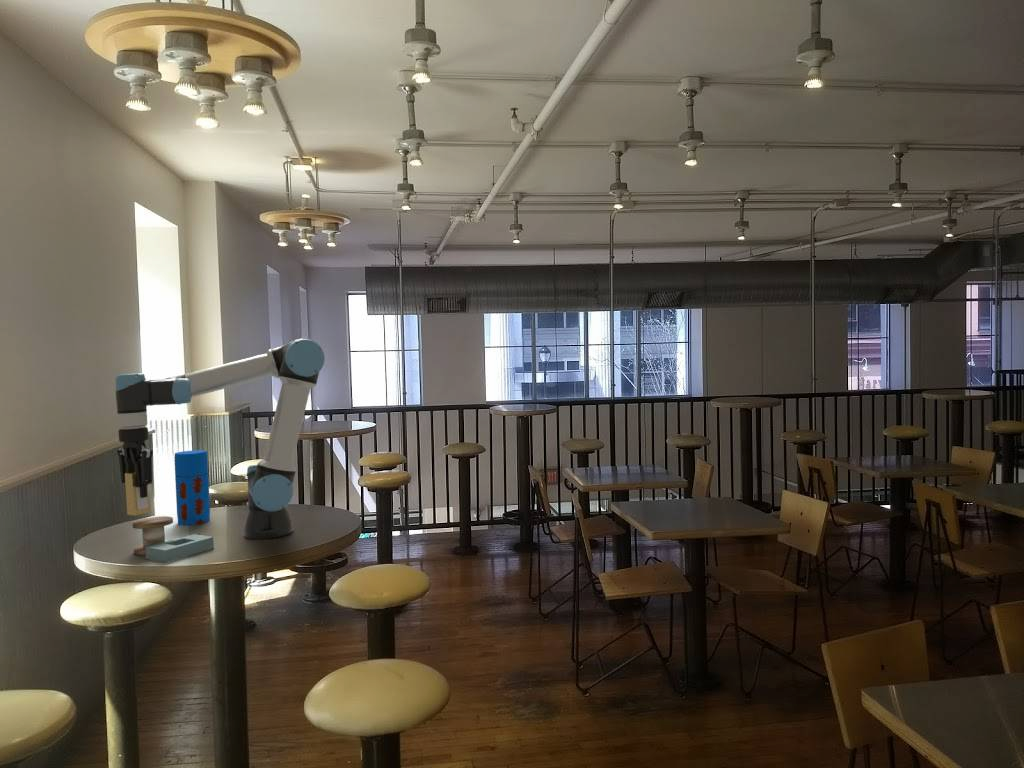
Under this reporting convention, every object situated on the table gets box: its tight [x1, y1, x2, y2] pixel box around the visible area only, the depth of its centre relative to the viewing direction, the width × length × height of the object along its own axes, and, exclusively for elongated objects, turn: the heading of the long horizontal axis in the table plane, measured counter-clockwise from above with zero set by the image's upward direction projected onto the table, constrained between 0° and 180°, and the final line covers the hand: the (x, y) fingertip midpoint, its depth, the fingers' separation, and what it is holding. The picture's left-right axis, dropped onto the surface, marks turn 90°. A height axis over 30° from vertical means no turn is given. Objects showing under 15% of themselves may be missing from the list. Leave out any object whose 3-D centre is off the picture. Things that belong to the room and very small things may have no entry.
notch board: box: [145, 533, 215, 563], centre depth 209 cm, size 16×9×4 cm, turn 151°
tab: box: [124, 471, 151, 517], centre depth 202 cm, size 4×4×12 cm
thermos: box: [174, 449, 211, 526], centre depth 251 cm, size 11×11×25 cm
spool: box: [131, 515, 174, 557], centre depth 213 cm, size 11×11×9 cm
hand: (138, 508), depth 202 cm, fingers closed on tab, 3 cm apart
